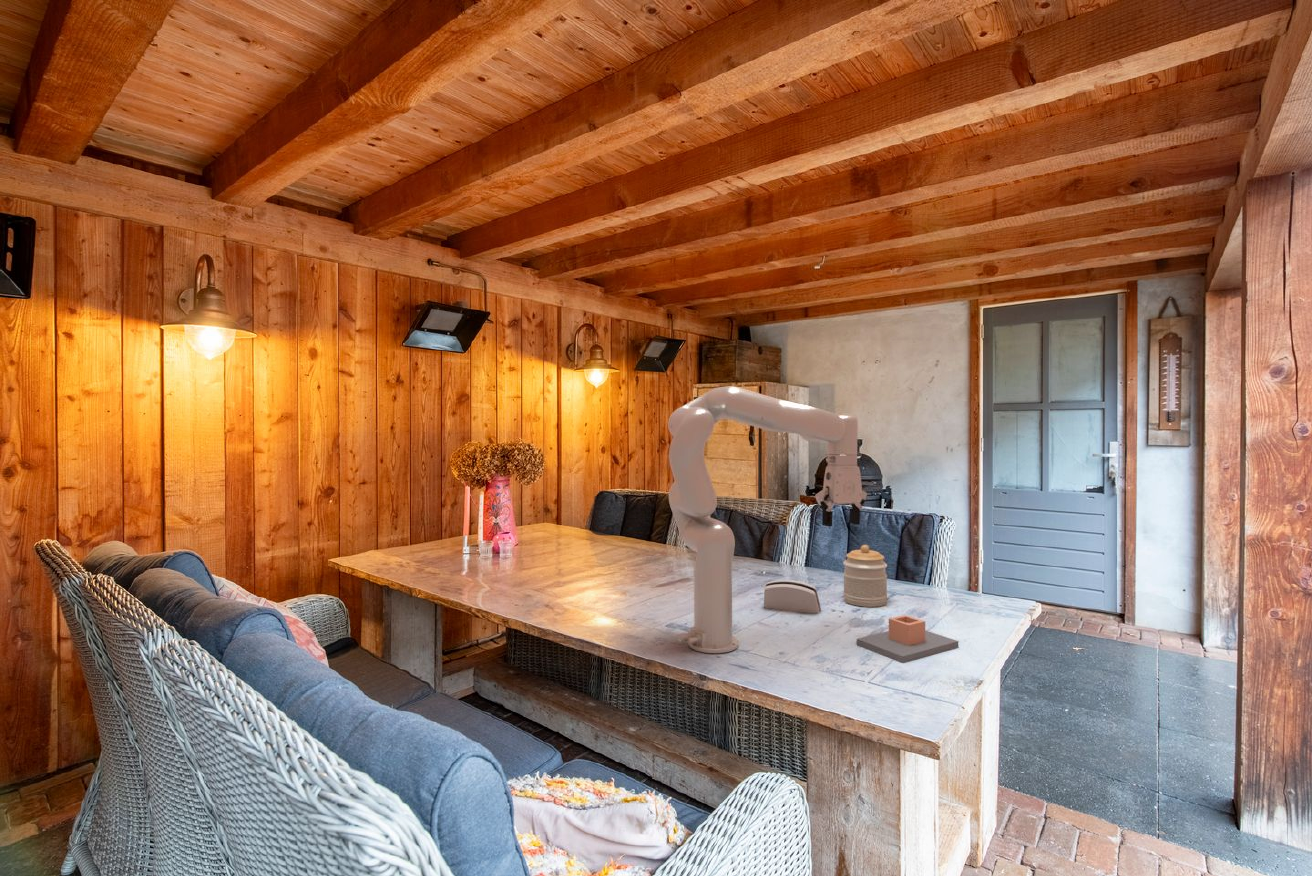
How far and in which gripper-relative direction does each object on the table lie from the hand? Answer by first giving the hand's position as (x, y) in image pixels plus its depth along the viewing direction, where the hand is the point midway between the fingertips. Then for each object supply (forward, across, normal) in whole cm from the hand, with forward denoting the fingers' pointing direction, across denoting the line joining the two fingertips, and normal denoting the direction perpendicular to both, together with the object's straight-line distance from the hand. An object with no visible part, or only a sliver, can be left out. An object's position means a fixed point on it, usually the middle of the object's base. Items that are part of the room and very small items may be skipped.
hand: (841, 524), depth 172 cm
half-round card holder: (+29, 0, +20) cm, 35 cm away
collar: (+26, +5, -18) cm, 32 cm away
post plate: (+28, +5, -18) cm, 34 cm away
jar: (+28, +25, +16) cm, 41 cm away
